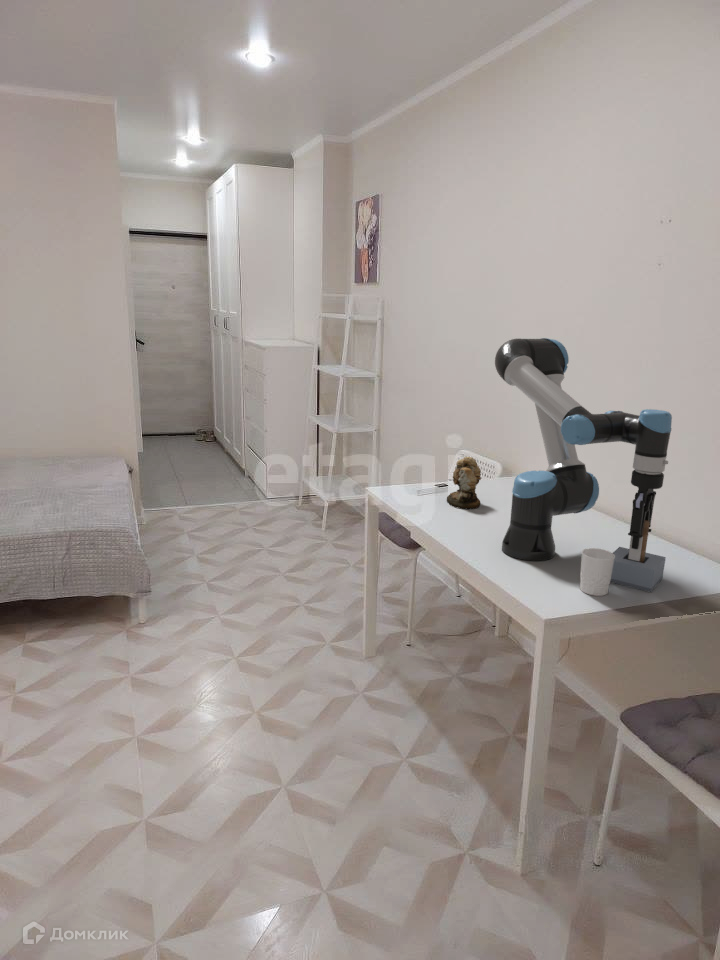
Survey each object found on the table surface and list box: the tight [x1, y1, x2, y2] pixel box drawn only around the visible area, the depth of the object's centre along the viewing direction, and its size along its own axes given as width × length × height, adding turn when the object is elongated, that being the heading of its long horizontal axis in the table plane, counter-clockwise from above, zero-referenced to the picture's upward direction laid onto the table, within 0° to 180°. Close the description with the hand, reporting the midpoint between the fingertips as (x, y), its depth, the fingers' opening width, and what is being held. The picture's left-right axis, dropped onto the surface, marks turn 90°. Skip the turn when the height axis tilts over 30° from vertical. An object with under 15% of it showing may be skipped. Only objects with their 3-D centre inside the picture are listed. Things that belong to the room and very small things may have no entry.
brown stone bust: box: [446, 456, 482, 510], centre depth 242 cm, size 18×12×17 cm, turn 6°
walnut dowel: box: [628, 520, 650, 563], centre depth 176 cm, size 4×4×15 cm
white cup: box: [579, 547, 615, 597], centre depth 169 cm, size 8×8×10 cm
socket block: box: [610, 546, 666, 593], centre depth 178 cm, size 12×12×6 cm
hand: (636, 557), depth 177 cm, fingers closed on walnut dowel, 4 cm apart
